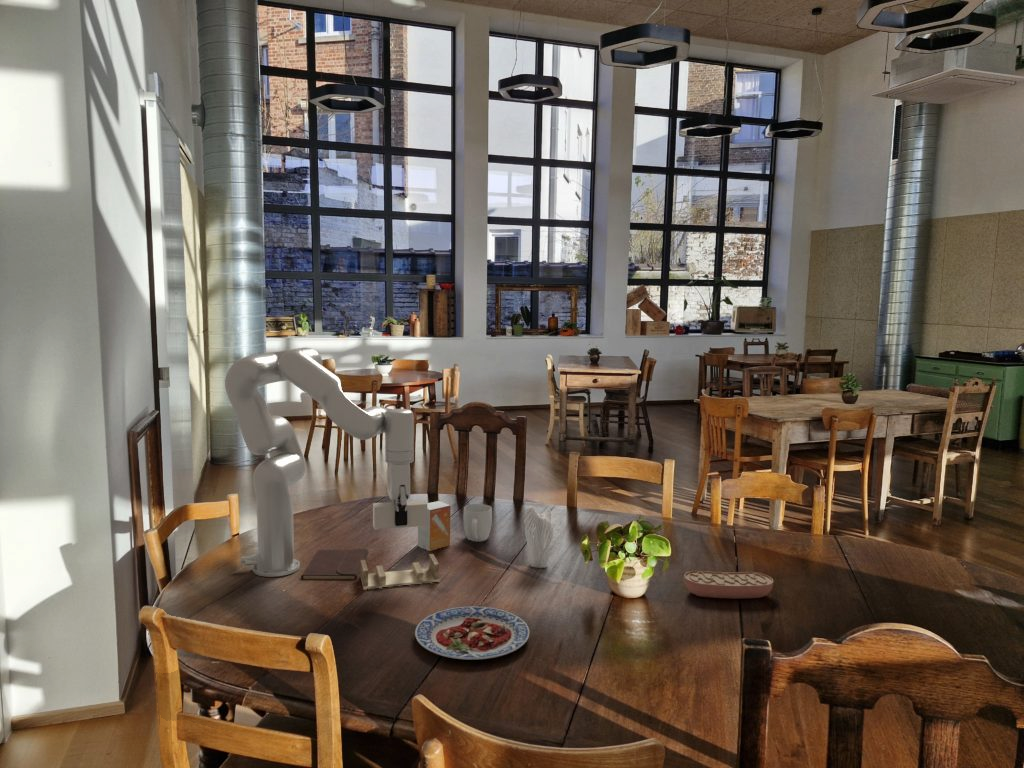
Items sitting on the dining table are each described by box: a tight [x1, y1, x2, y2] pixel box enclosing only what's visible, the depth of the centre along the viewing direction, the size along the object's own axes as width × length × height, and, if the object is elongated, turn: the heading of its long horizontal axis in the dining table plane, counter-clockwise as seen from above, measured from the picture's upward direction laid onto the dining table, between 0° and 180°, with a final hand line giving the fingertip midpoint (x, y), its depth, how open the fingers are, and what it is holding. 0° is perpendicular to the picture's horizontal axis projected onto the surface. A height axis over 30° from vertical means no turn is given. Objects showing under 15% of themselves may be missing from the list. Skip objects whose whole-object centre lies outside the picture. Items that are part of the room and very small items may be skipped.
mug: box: [462, 503, 493, 543], centre depth 233 cm, size 13×9×10 cm
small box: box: [417, 500, 452, 552], centre depth 227 cm, size 8×6×13 cm
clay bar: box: [372, 499, 428, 530], centre depth 199 cm, size 14×4×6 cm, turn 106°
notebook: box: [300, 548, 369, 580], centre depth 211 cm, size 15×20×2 cm
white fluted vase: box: [523, 505, 554, 569], centre depth 213 cm, size 8×8×18 cm
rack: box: [359, 553, 440, 591], centre depth 201 cm, size 20×9×5 cm, turn 107°
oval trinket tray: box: [683, 570, 774, 599], centre depth 195 cm, size 23×10×5 cm, turn 90°
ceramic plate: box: [414, 605, 530, 661], centre depth 168 cm, size 26×26×3 cm
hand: (399, 521), depth 199 cm, fingers closed on clay bar, 4 cm apart
